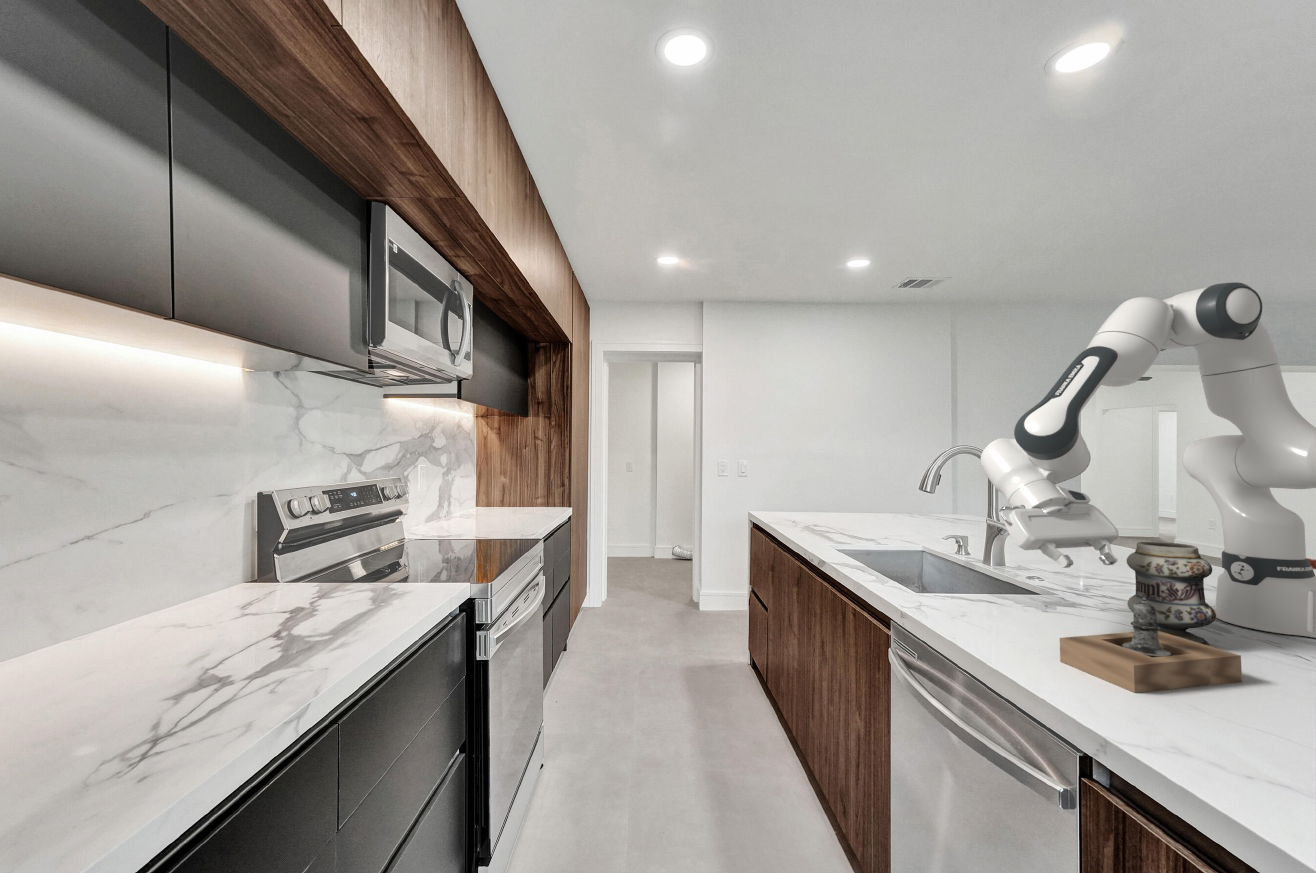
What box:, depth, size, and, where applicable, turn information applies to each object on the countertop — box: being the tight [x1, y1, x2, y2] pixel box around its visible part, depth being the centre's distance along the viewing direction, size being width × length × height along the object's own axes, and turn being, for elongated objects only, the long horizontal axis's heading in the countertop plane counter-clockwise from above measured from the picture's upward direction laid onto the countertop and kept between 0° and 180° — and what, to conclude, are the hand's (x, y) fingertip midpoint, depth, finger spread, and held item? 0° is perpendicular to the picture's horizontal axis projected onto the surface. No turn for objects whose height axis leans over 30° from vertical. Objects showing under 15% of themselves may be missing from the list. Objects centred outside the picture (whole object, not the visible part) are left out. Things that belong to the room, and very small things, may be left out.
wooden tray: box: [1059, 631, 1243, 694], centre depth 86 cm, size 20×12×4 cm, turn 100°
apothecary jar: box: [1126, 541, 1217, 646], centre depth 101 cm, size 12×12×18 cm
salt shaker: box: [1122, 597, 1171, 657], centre depth 86 cm, size 6×6×12 cm
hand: (1090, 564), depth 95 cm, fingers open, 8 cm apart
